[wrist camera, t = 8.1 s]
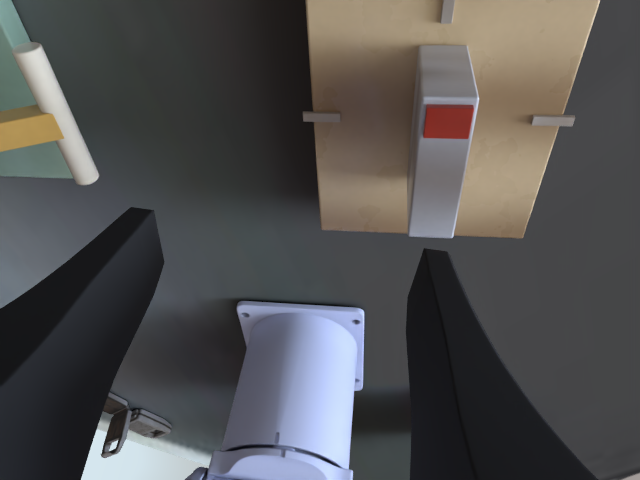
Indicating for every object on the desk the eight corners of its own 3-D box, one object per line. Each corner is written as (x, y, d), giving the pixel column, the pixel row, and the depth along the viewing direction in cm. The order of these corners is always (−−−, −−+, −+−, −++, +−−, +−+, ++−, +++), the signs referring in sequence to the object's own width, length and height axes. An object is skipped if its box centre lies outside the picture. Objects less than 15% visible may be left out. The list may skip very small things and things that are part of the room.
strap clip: (176, 423, 46) (160, 471, 43) (157, 431, 48) (141, 477, 45) (93, 383, 42) (70, 432, 39) (77, 392, 44) (53, 440, 41)
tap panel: (521, 202, 24) (531, 242, 22) (319, 195, 25) (312, 232, 23) (612, -96, 15) (641, -73, 14) (300, -86, 17) (287, -64, 15)
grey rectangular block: (446, 178, 20) (453, 244, 18) (406, 177, 20) (407, 242, 18) (468, 44, 16) (481, 102, 14) (418, 44, 17) (421, 101, 14)
